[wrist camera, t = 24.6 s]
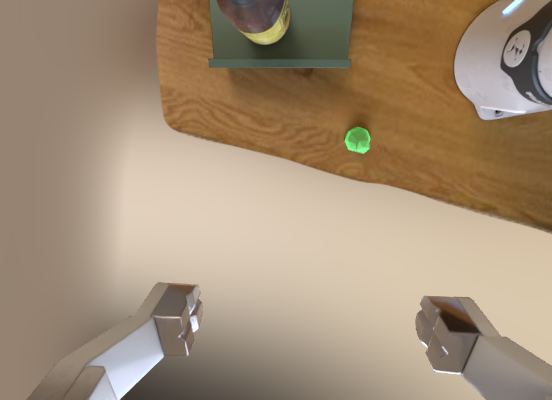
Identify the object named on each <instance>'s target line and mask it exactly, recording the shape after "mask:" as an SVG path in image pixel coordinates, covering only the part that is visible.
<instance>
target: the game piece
mask: <svg viewBox="0 0 552 400" xmlns="http://www.w3.org/2000/svg"><path fill="white" fill-rule="evenodd" d="M370 139H371V138H370V136H369V133H368V131H367V130H366V129H364V128H361V127H358V126H357V127H355V128H353V129H351V130H349V131H348V132H347V134H346V137H345V139H344V141H345V143H346V146H347V148H348V150H352V151H355V152H360V153H365V152H366V151H367V150H369V149H370V145H369V142H370Z"/></svg>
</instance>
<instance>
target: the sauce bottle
mask: <svg viewBox="0 0 552 400" xmlns="http://www.w3.org/2000/svg"><path fill="white" fill-rule="evenodd" d="M217 3H218V5H219V8H220V10H221V11H222V13H223V14H224V15H225V17H226V18H227V19H228V20H229V21H230V23H231V24H232V25H233V26H234V27H236V28H237V29H238V30H239V31H240V32H242V33H243V34H244V35H245V36H247V37H248V38H249V39H250V40H252V41H253V42H255V43H258V44H262V45H266V44H273V43H275V42H277V41H279V40H280V39H281V38H282V36H283V35H284V34H285V32H286V30H287V28H288V26H289V22H290V8H289V2H288V0H217Z"/></svg>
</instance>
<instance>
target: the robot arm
mask: <svg viewBox="0 0 552 400" xmlns="http://www.w3.org/2000/svg"><path fill="white" fill-rule="evenodd" d="M454 74H455V79H456V82H457V85H458V87H459V89H460V90H461V92H462V93H463V94H464V95H465V96H466V97H467V98H468V99H469V100H471V101H472V102H473V103H474V105H475V108H476V110H477V113H478V115H479V117H480V118H481V119H483V120H493V119H499V118H505V117H511V116H516V115H522V114H528V113H534V112H540V111H546V110H552V0H499V1H497V2H496V3H494V4H493V5H491V6H490V7H488V8H487V9H486V10H484V11H483V12H482V13H481V14H480V15H479V16H478V17H477V18H476V19H475V20H474V21H473V22H472V23H471V25H470V26H469V27H468V29H467V30H466V32H465V33H464V35H463V37H462V39H461V41H460V43H459V45H458V48H457V51H456V55H455V61H454ZM496 110H498V112H497V113H495V111H496ZM199 295H200V289H199V286H198V285H192V284H178V283H161V282H159V283H157V284H156V285H155V286H154V287H153V289H152V290H151V292H150V293H149V295H148V296H147V298H146V299H145V301H144V303H143V304H142V305H141V307H140V309H139V310H138V312H137V313H136V315H135V316H129V317H128V318H126V319H125V320H123V321H122V322H120V323H118V324H117V325H115V326H114V327H112V328H110V329H109V330H107V331H106V332H104V333H102V334H101V335H99V336H98V337H96V338H95V339H93V340H91V341H90V342H88V343H87V344H85V345H83V346H82V347H80V348H79V349H77V350H75V351H74V352H72V353H71V354H69V355H67V356H66V357H64V358H63V359H61V360H60V361H58V362H57V363H56V364H55V365H54V367H53V368H52V369H51V370H50V372H49V373H48V374H47V375H46V376H45V378H44V379H43V380H42V381H41V383H40V384H39V385H38V386H37V388H36V389H35V390H34V391H33V392H32V394H31V395H30V396H29V397H28V399H27V400H119V399H120V398H121V397H122V396H123V395H124V394H126V393H127V392H128V391H129V390H130V389H131V388H132V387H133V386H134V385H135V384H136V383H137V382H138V381H139V380H140V379H141V378H142V377H143V376H144V375H145V374H146V373H147V372H148V371H149V370H150V369H151V368H153V367H154V366H155V365H156V364H157V363H158V362H159V361H160V360H161V359H162V358H163V357H164V356H163V355H172V356H188V354H189V351H190V349H191V346H192V343H193V341H194V335H193V332H194V331H196V330H197V329H198V328H199V325H200V322H201V317H202V302H201V301H200V300H199V299H198V297H199ZM420 305H421V307H422V310H421V311H420V312H418V314H417V316H416V331H417V334H418V337H419V339H420V341H421V342H422V343H423V344H424V345H425V346H427V347H428V348H427V351H426V354H427V357H428V359H429V361H430V363H431V365H432V367H433V370H434V371H435V372H442V373H453V374H462V375H461V376H462V377H463V378H464V379H465V380H467V382H468V383H470V384H471V385H472V386H473V387H474V388H475V389H476V390H477V391H478V392H479V393H480V394H481V395H482V396H483V397H484V398H485V399H486V400H552V366H551V365H549V364H548V363H546V362H545V361H543V360H541V359H540V358H538V357H537V356H535V355H534V354H532V353H531V352H529V351H528V350H526V349H524V348H523V347H521V346H520V345H518V344H517V343H515V342H513V341H512V340H510V339H509V338H507V337H501V335H500V334H499V333H498V332H497V330H496V329H495V328H494V327H493V325H492V324H491V323H490V321H489V320H488V319H487V317H486V316H485V315H484V314H483V312H482V311H481V310H480V308H479V307H478V306H477V305H476V303H475V302H474V301H473V300H472V299H471V298H469V297H441V296H424V297H423V298H422V299H421V303H420Z"/></svg>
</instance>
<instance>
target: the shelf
mask: <svg viewBox="0 0 552 400" xmlns="http://www.w3.org/2000/svg"><path fill="white" fill-rule="evenodd" d="M288 2H289V8H290V22H289V26H288V28H287V30H286V32H285V34H284V35H283V36H282V38H281V39H280V40H279V41H277V42H275V43H273V44H266V45H262V44H258V43H255V42H253V41H252V40H250V39H249V38H248V37H247V36H245V35H244V34H243V33H242V32H240V31H239V30H238V29H237V28H236V27H234V26H233V25H232V24H231V23H230V21H229V20H228V19H227V18H226V17H225V15H224V14H223V13H222V11H221V10H220V8H219V5H218V3H217V0H209V5H210V17H211V30H212V42H213V54H214V59H209V67H211V68H350V65H351V59H348V52H349V42H350V32H351V22H352V12H353V2H354V0H288Z"/></svg>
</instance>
